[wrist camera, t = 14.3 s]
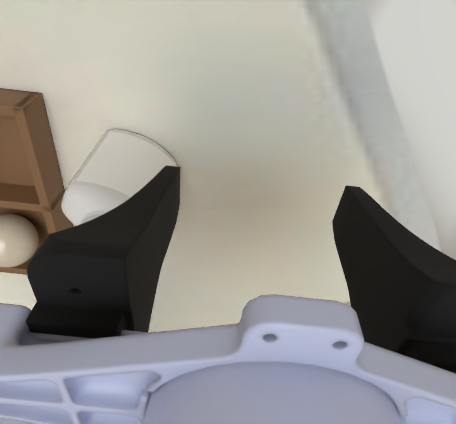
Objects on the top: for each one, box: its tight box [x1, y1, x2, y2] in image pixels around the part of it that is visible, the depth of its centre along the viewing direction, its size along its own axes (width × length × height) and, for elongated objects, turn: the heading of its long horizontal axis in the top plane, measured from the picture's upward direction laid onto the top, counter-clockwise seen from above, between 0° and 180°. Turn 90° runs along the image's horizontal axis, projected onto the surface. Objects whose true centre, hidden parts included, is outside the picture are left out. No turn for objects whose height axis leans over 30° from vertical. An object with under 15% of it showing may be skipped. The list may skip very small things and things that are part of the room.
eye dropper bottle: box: [61, 129, 177, 226], centre depth 22 cm, size 4×6×12 cm
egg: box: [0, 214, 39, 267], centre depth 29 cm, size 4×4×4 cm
